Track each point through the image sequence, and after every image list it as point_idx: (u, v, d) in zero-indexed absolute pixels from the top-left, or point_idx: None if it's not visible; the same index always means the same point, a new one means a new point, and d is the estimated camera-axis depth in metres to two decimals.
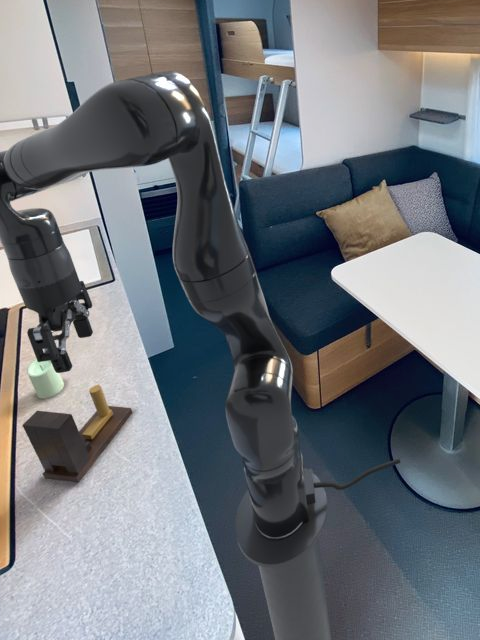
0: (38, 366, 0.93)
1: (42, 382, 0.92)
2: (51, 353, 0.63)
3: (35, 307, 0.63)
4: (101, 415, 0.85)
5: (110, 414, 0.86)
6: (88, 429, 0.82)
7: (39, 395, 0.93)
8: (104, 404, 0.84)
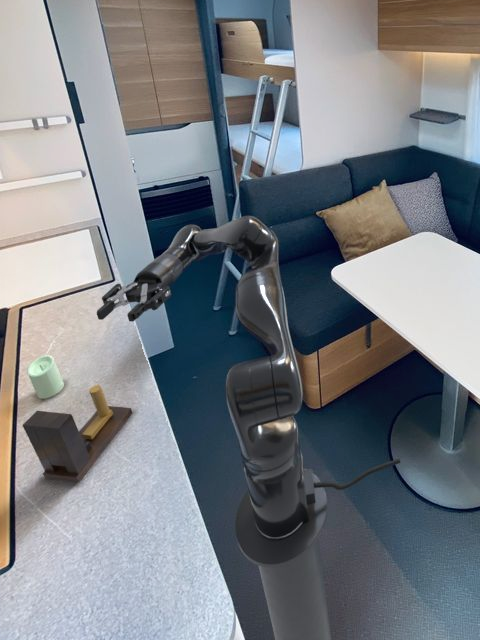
0: (38, 366, 0.93)
1: (42, 382, 0.92)
2: (159, 305, 0.93)
3: (163, 281, 0.99)
4: (101, 415, 0.85)
5: (110, 414, 0.86)
6: (88, 429, 0.82)
7: (39, 395, 0.93)
8: (104, 404, 0.84)
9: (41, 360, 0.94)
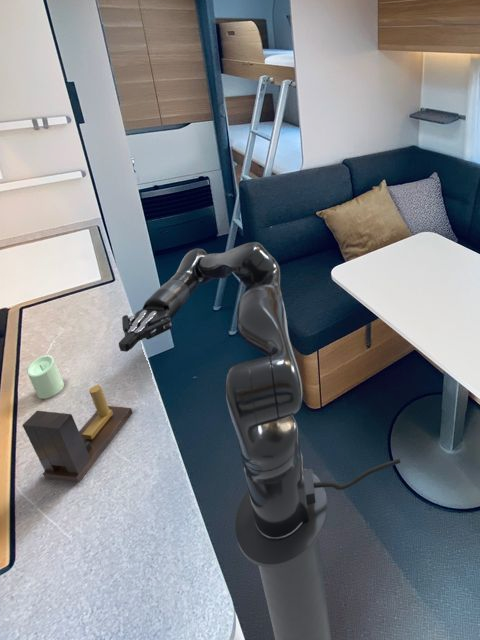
0: (38, 366, 0.93)
1: (42, 382, 0.92)
2: (153, 336, 0.96)
3: (171, 307, 1.02)
4: (101, 415, 0.85)
5: (110, 414, 0.86)
6: (88, 429, 0.82)
7: (39, 395, 0.93)
8: (104, 404, 0.84)
9: (41, 360, 0.94)
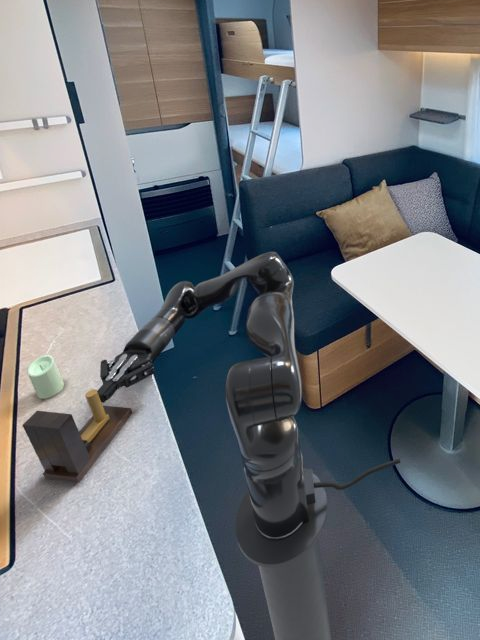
0: (38, 366, 0.93)
1: (42, 382, 0.92)
2: (133, 383, 0.89)
3: (154, 350, 0.96)
4: (97, 420, 0.84)
5: (106, 418, 0.85)
6: (84, 434, 0.81)
7: (39, 395, 0.93)
8: (100, 408, 0.83)
9: (41, 360, 0.94)
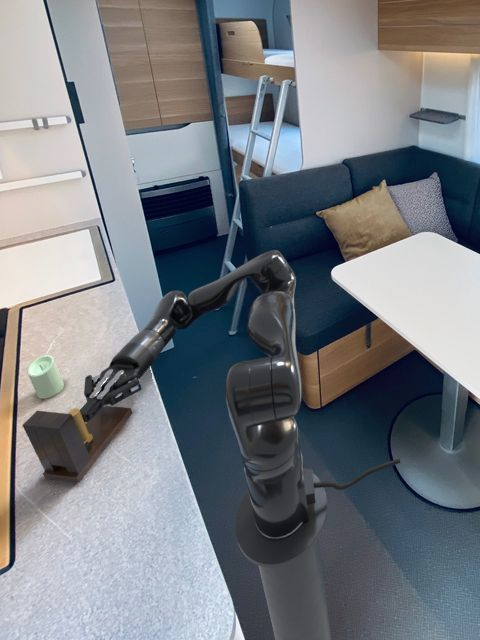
0: (38, 366, 0.93)
1: (42, 382, 0.92)
2: (118, 401, 0.85)
3: (142, 365, 0.92)
4: None
5: (90, 439, 0.81)
6: None
7: (39, 395, 0.93)
8: (83, 429, 0.79)
9: (41, 360, 0.94)
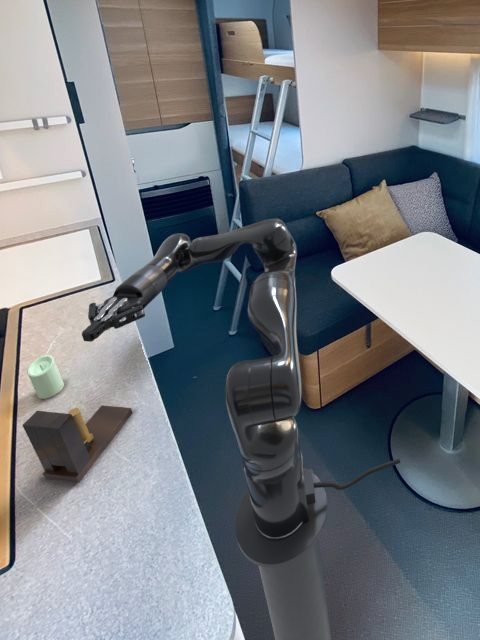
0: (38, 366, 0.93)
1: (42, 382, 0.92)
2: (122, 325, 0.86)
3: (145, 295, 0.92)
4: None
5: (90, 438, 0.81)
6: None
7: (39, 395, 0.93)
8: (83, 428, 0.79)
9: (41, 360, 0.94)
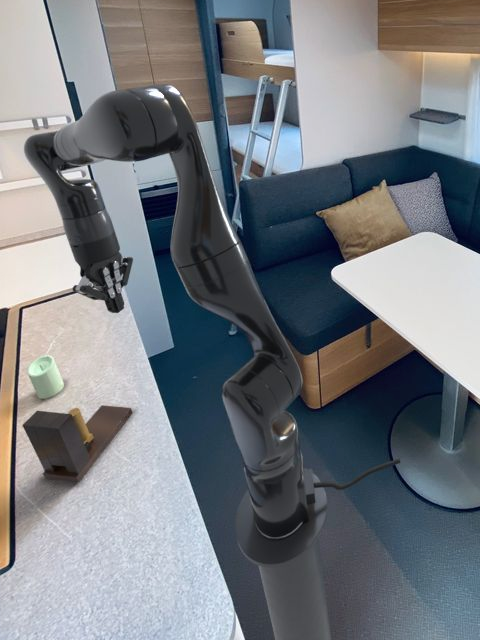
0: (38, 366, 0.93)
1: (42, 382, 0.92)
2: None
3: None
4: None
5: (90, 438, 0.81)
6: None
7: (39, 395, 0.93)
8: (83, 428, 0.79)
9: (41, 360, 0.94)
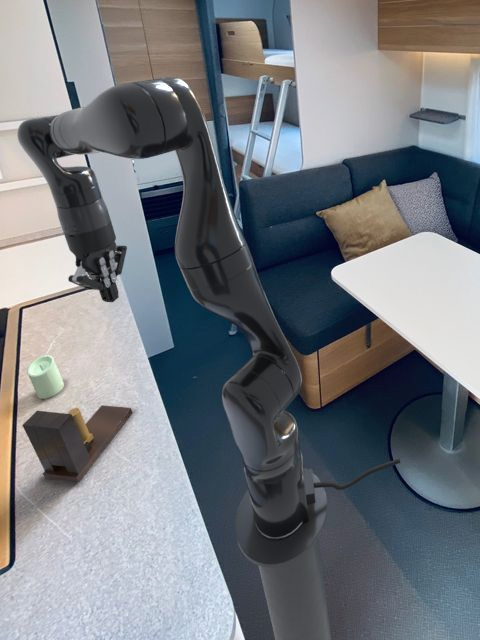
0: (38, 366, 0.93)
1: (42, 382, 0.92)
2: None
3: None
4: None
5: (90, 438, 0.81)
6: None
7: (39, 395, 0.93)
8: (83, 428, 0.79)
9: (41, 360, 0.94)
